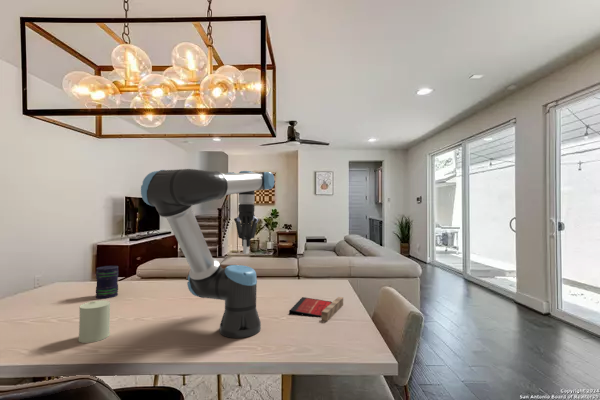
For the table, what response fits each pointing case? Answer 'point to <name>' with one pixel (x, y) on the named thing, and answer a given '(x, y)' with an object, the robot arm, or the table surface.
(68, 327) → the table surface
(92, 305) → the can
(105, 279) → the storage jar
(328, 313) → the rail
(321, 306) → the binder
